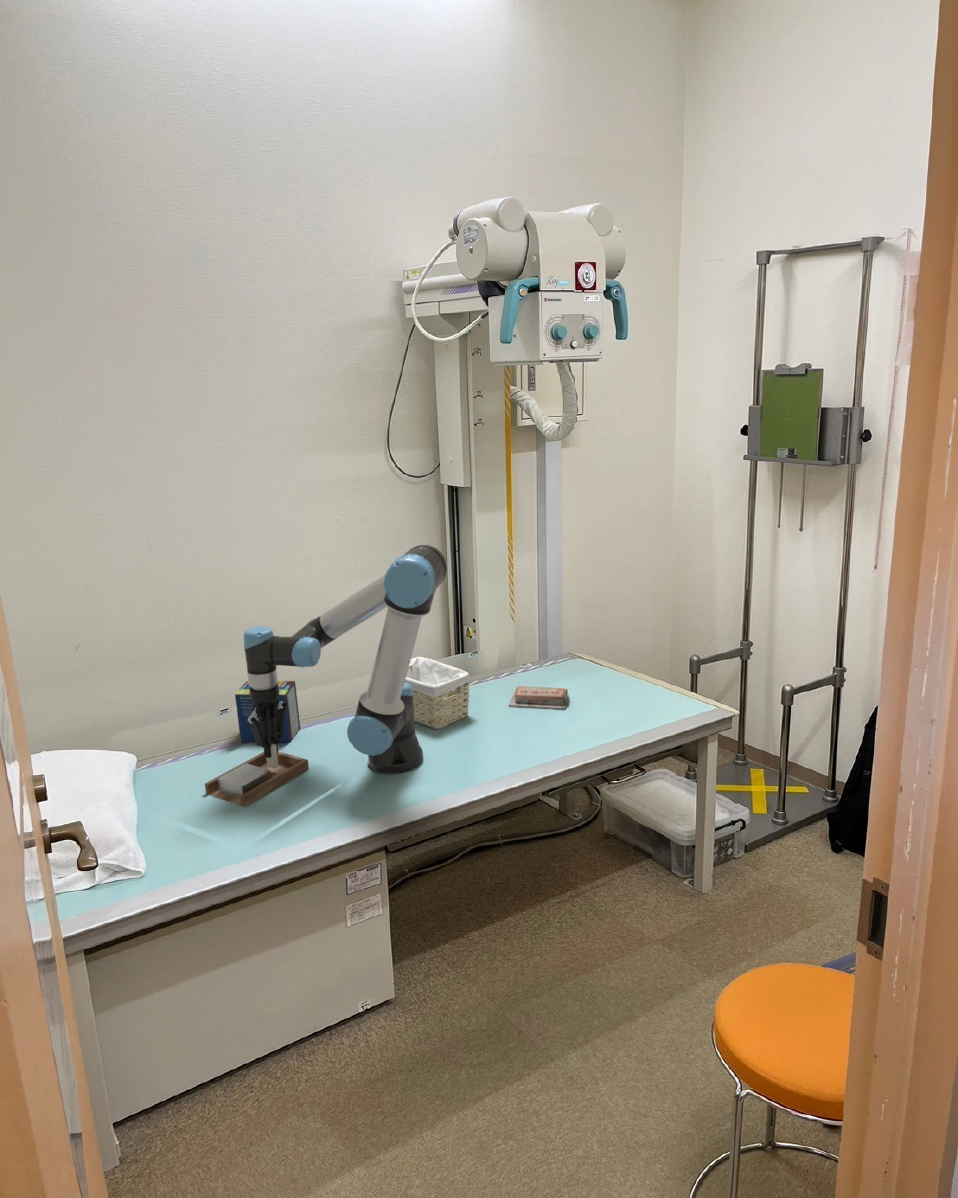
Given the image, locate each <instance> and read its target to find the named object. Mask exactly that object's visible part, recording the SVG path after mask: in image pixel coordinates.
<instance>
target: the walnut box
mask: <svg viewBox="0 0 958 1198" xmlns="http://www.w3.org/2000/svg"><path fill="white" fill-rule="evenodd" d="M277 758H278V767H277V768H275V769H274V768H271V767H267V760H266V757H265V756H264V751H262V752H260V753H259V754H257V755H255V756H254V757H252V758H250V759H248V760H246V761H244V762H242V763H241V764H239V765H237V766H235V767H233V768H232V769H230V770H227V771H226V772H223V773H222V774H220V775H219V776H217V777H215V778H213V779H211V780H209V781H207V782H205V783H204V788H205V794H206V795H209V796H211V797H215V798H217V799H221V800H224V801H226V802H230V803H232V804H235V805H239V806H242V807H245V808H246V807H248V806H249V805H251V804H253V803H254V802H256V801H258V800H260V799H261V798H263V797H265V796H266V795H268V794H270V793H271V792H273V791H275V790H277V789H278V788H280V787H281V786H283V785H285V784H286V783H288V782H290V781H291V780H293V779H295V778H297V777H298V776H300V775H302V774H303V773H305V772H306V771H309V760H308V759H307V758H303V757H300V756H297V755H292V754H289V753H285V752H283V751H279V750H278V753H277ZM245 763H247V764H251V765H254V766H257V767H261V768H264V769H267V770H270V772H271V778H270V779H269V780H267V781H265V782H263V783H262V784H260V785H258V786H257V787H255V788H253V789H251V790H250V791H248V792H246V793H244V794H243V795H241V800H240V799H237V798H234V797H231V796H228V795H225V794H222V793H219V788H218V780H217V779H218V778H219V777H221V776H223V775H225V774H227V773H229V772H231V771H232V770H234V769H236V768H238V767H240V766H242V765H243V764H245Z"/></svg>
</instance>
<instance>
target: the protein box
mask: <svg viewBox="0 0 958 1198" xmlns="http://www.w3.org/2000/svg"><path fill="white" fill-rule="evenodd" d="M277 684H278V686H279V701H282V702H286V703H287V706H286V709H285V714H284V728H283V737H282V738H281V739H279V741H280V744H291V743H292V741H293V739H294V738H295V736H296V735H297V734H298V732H299V730H300V729H301V722H300V715H299V714H300V713H299V703H298V694H297V685H296V681H295V680H286V681H284V680H278V683H277ZM249 688H250V686H249V682H248V680H247V681H245V682H244V683H243V685H242V686H241V687H240V688H238V690H237V691H236V692H235V693H234V697H235V707H236V713H237V721H238V731H239V738H240V743H247V742H254V743H255V742H256V741H255V738H254V736H253V733H252V730H251V727H250V724H249V723H248V722H247V721H246V717H247V716H249V717H250V715H251V714H252V712H253V711H252V708H253V703H252V701H251V699H250V691H249ZM257 719H258V718H257ZM278 733H279V732H278ZM254 743H253V744H254ZM255 744H256V743H255Z"/></svg>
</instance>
